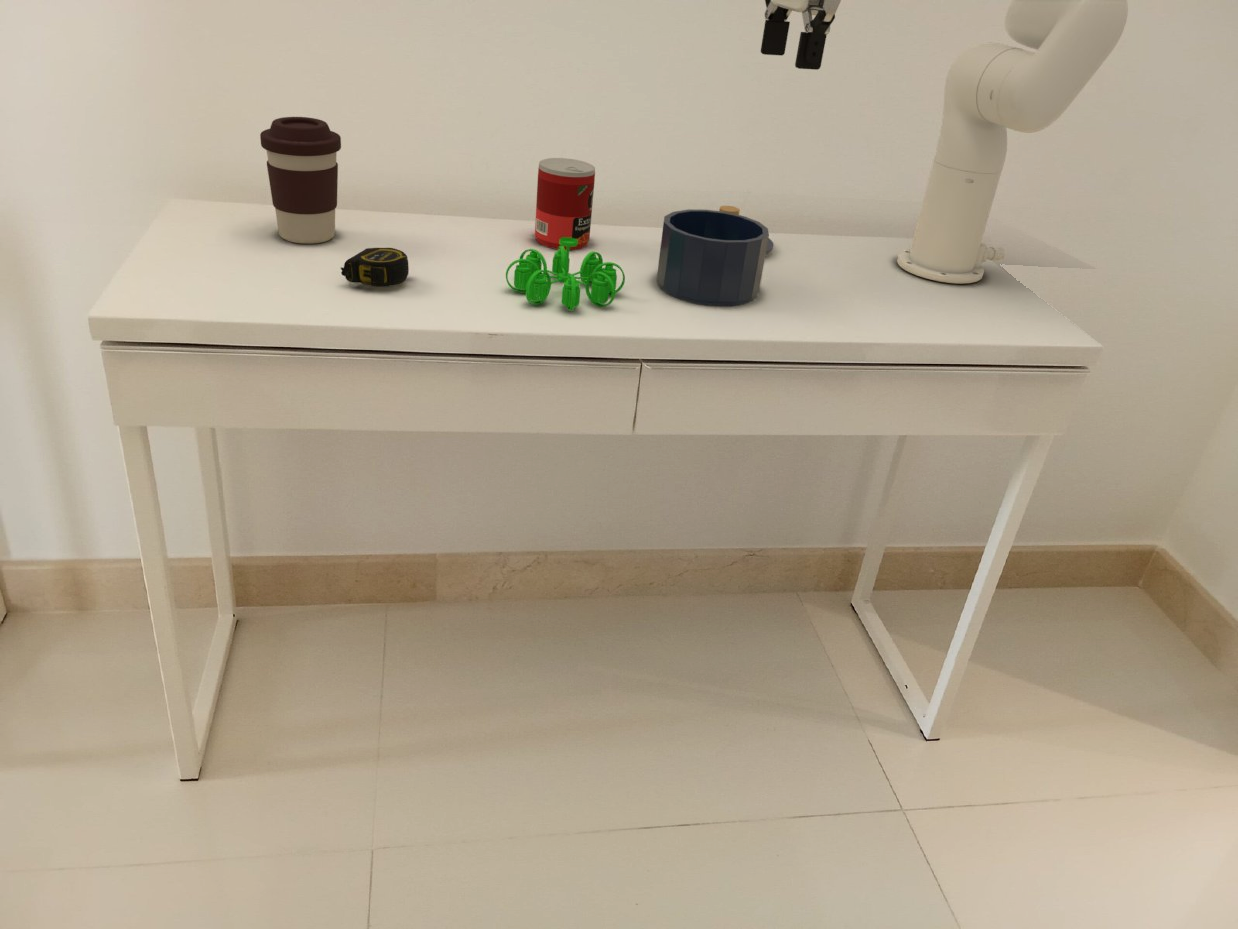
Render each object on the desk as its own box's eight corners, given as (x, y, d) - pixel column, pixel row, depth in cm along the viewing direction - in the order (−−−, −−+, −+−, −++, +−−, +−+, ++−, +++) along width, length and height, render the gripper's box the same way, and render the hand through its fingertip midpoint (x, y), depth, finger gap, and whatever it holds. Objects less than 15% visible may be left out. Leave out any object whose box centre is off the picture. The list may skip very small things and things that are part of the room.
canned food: (582, 253, 139) (588, 175, 134) (527, 245, 140) (531, 166, 135) (594, 238, 146) (601, 162, 140) (542, 230, 147) (546, 154, 141)
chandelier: (633, 317, 120) (639, 263, 117) (509, 314, 118) (511, 258, 114) (613, 274, 133) (618, 223, 130) (501, 270, 130) (503, 218, 127)
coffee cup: (287, 220, 139) (279, 110, 132) (355, 230, 138) (351, 119, 131) (255, 241, 131) (245, 124, 123) (328, 252, 130) (321, 134, 122)
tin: (732, 268, 140) (742, 209, 136) (774, 305, 129) (786, 241, 125) (642, 270, 136) (649, 209, 131) (677, 308, 125) (686, 242, 120)
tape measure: (368, 269, 126) (367, 241, 124) (418, 279, 124) (418, 250, 123) (341, 286, 120) (339, 256, 118) (393, 296, 119) (392, 266, 117)
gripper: (883, -89, 109) (850, 75, 117) (810, -97, 123) (785, 51, 131) (823, -96, 106) (793, 72, 115) (755, -103, 120) (733, 48, 129)
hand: (789, 61), depth 123 cm, fingers open, 9 cm apart
